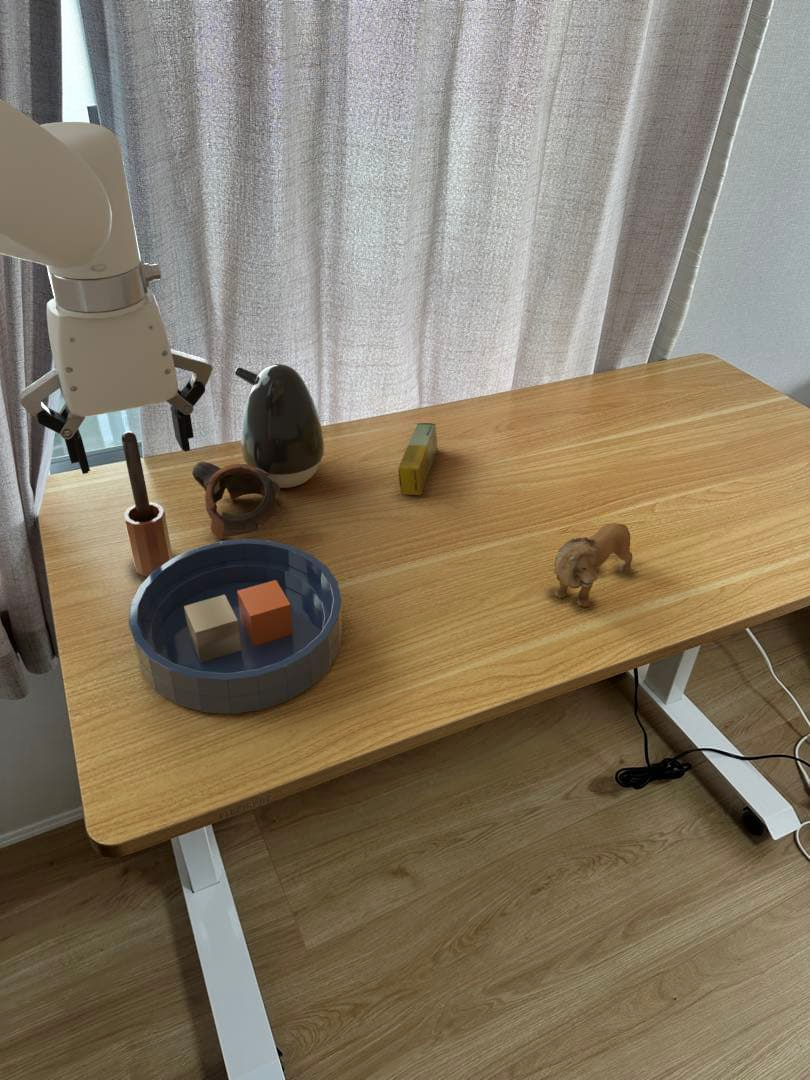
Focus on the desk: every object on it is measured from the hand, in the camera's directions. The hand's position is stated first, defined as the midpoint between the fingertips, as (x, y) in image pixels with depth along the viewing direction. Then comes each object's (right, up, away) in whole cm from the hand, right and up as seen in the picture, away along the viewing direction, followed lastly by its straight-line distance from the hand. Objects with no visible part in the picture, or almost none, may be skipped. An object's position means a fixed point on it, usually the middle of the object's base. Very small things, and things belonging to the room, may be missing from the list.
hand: (134, 455), depth 80 cm
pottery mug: (+7, -6, +16) cm, 18 cm away
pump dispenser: (+11, 0, +23) cm, 26 cm away
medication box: (+28, 0, +25) cm, 38 cm away
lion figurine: (+47, -14, +8) cm, 49 cm away
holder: (-1, -11, +8) cm, 14 cm away
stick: (-1, -11, +8) cm, 13 cm away
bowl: (+11, -18, 0) cm, 21 cm away
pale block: (+8, -18, -2) cm, 20 cm away
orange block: (+13, -17, 0) cm, 21 cm away
